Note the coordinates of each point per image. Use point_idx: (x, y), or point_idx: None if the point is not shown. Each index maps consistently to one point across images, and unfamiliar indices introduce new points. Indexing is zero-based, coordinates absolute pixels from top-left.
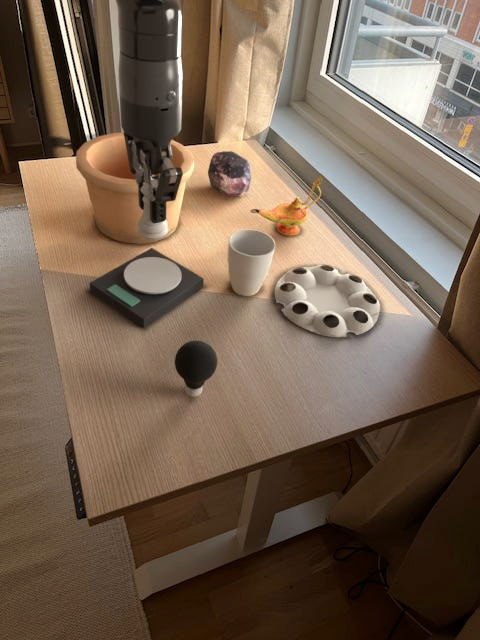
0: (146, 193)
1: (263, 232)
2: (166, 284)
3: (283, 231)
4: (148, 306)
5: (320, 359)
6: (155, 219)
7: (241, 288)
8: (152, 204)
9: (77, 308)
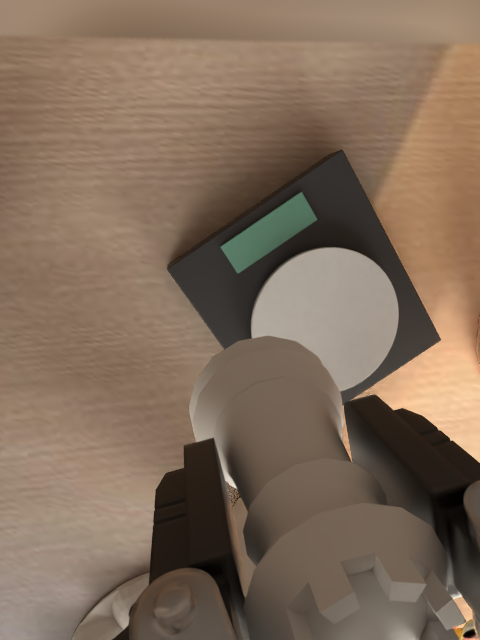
0: (282, 554)
1: None
2: None
3: None
4: (213, 289)
5: (8, 605)
6: (175, 477)
7: (234, 515)
8: (188, 543)
9: (274, 107)
